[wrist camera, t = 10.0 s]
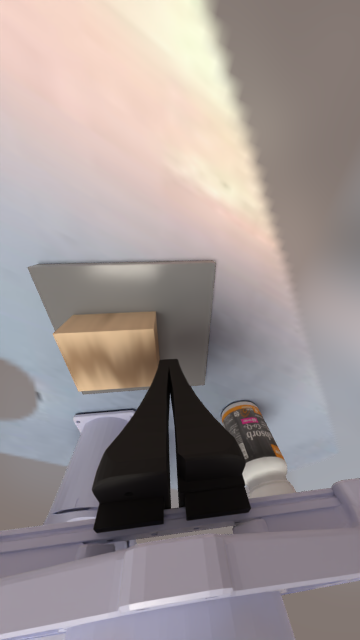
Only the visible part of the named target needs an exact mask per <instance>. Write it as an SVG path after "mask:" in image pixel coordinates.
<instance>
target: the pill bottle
mask: <svg viewBox="0 0 360 640" xmlns="http://www.w3.org/2000/svg"><path fill="white" fill-rule="evenodd" d="M221 418H222V423H223V427H224V428H225V429H226V430H227V431H228V432H229V433H230V434H231V435H233V436H234V437H235V439H236V441H237V443H238V444H239V446H240V448H241V450H242V453H243V455H244V457H245V461H246V465H245V468H244V470H243V473H242V475H243V478H244V481H245V485H247V486H248V487H249V490H250V491H249V499H250V498H257V497H265V496H273V495H280V494H288V493H296V491H295V489H294V487H293V486H292V485H291V484H290V482H288V481H287V479H286V474H287V465H286V462H285V460H284V458H283V456H282V454H281V452H280V450H279V448H278V446H277V444H276V442H275V440H274V438H273V436H272V434H271V432H270V430H269V428H268V426H267V424H266V422H265V421H264V419H263V417H262V415H261V413H260V411H259V409H258V407H257V406H256V405H255V404H253V403H251V402H246V401H243V402H236V403H233V404H231V405H229V406H228V407H226V408H225V410H224V411H223V413H222V416H221Z"/></svg>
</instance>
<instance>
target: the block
mask: <svg viewBox="0 0 360 640" xmlns="http://www.w3.org/2000/svg"><path fill="white" fill-rule="evenodd" d="M53 336H54V338H55V340H56V342H57V345H58V347H59V349H60V351H61V353H62V356H63V358H64V360H65V362H66V365H67V367H68V369H69V371H70V374H71V376H72V378H73V380H74V382H75V385H76V387H77V389H78V391H92V390H106V389H120V388H134V387H148V386H150V385H151V383H152V381H153V379H154V376H155V374H156V371H157V368H158V364H159V361H160V356H159V345H158V333H157V321H156V311H152V312H129V313H106V314H83V315H72V316H71V317H70V318H69V319H68V320H67V321H66V322H65V323H64V324H63V325H62V326H61V327H59V328H58V329H57V330H56V331H55V332H54V333H53Z"/></svg>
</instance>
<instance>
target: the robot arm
mask: <svg viewBox="0 0 360 640" xmlns="http://www.w3.org/2000/svg"><path fill="white" fill-rule="evenodd" d="M170 394H171V402H172V409H173V417H174V425H175V441H176V459H177V478H178V497H179V508H172V509H171V498H170V497H171V496H170V464H169V430H168V426H169V404H170ZM73 420H74V422H75V424H76V426H77V428H78V430H79V431H80V433H81V435H80V437H79V440H78V442H77V445H76V447H75V450H74V452H73V455H72V457H71V460H70V462H69V465H68V467H67V469H66V472H65V474H64V477H63V479H62V482H61V484H60V487H59V489H58V492H57V494H56V497H55V499H54V502H53V504H52V507H51V509H50V512H49V514H48V516H47V518H46V520H45V522H44V523H43V525H42V526H34V527H26V528H18V529H11V530H3V531H0V640H295V637H294V634H293V630H292V627H291V625H290V621H289V618H288V615H287V612H286V609H285V606H284V602H283V599H282V596H281V595H285V594H290V593H296V592H301V591H306V590H312V589H316V588H322V587H328V586H333V585H338V584H343V583H348V582H354V581H360V478H356V479H348V480H341V481H338V482H336V483H334V484H333V485H332V488H327V489H319V490H311V491H304V492H296V493H288V494H280V495H273V496H265V497H257V498H250V499H248V497H247V493H246V490H245V487H244V486H245V481H244V478H243V475H242V473H243V470H244V468H245V465H246V461H245V457H244V455H243V453H242V450H241V448H240V446H239V444H238V443H237V441H236V439H235V437H234V436H233V435H231V434H230V433H229V432H228V431H227V430H226V429H225V428H224V427H223V426H222V425H221V424H220V423H219V422H218V421H217V420H216V419H215V418H214V417H213V415H212V414H211V413H210V412H209V411H208V410H207V409H206V407H205V406H204V405H203V404H202V402H201V401H200V400H199V398H198V397H197V396H196V394H195V393H194V391H193V390H192V388H191V386H190V385H189V383H188V381H187V379H186V378H185V376H184V374H183V372H182V369H181V367H180V364H179V361H178V359H163V360H160V361H159V364H158V368H157V371H156V374H155V376H154V379H153V381H152V383H151V385H150V388H149V390H148V392H147V394H146V395H145V397H144V399H143V401H142V402H141V404H140V406H139V407H138V409H137V410H136V412H135V411H134V410H126V411H115V412H103V413H91V414H80V415H75V416H74V418H73ZM234 525H236V526H234ZM227 526H233V534H221V535H220V534H201V535H193V536H186V537H179V538H172V539H165V540H158V541H152V542H145V543H140V544H137V543H136V540H135V539H142V538H149V537H156V536H164V535H171V534H178V533H184V532H192V531H199V530H206V529H213V528H220V527H227Z"/></svg>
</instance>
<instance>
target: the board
mask: <svg viewBox="0 0 360 640" xmlns="http://www.w3.org/2000/svg"><path fill="white" fill-rule="evenodd" d="M215 267H216V263H215V262H214V261H212V260H205V261H159V262H114V263H68V264H37V265H33V266H30V267H28V270H29V272H30V274H31V277H32V279H33V281H34V284H35V286H36V288H37V290H38V293H39V295H40V297H41V300H42V302H43V304H44V307H45V309H46V311H47V313H48V316H49V318H50V320H51V323H52V325H53V327H54V330H55V331H56V330H57V329H58V328H59V327H61V326H62V325H63V324H64V323H65V322H66V321H67V320H68V319H69V318H70V317H71V316H72V315H83V314H106V313H129V312H152V311H156V321H157V333H158V345H159V356H160V360H163V359H178V361H179V364H180V367H181V369H182V372H183V374H184V376H185V378H186V379H187V381H188V383H189V385H190V386H199V385H205V374H206V364H207V353H208V342H209V331H210V320H211V310H212V299H213V288H214V277H215ZM149 388H150V386H148V387H134V388H120V389H106V390H92V391H81V392H82V394H95V393H108V392H121V391H134V390H147V389H149Z"/></svg>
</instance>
